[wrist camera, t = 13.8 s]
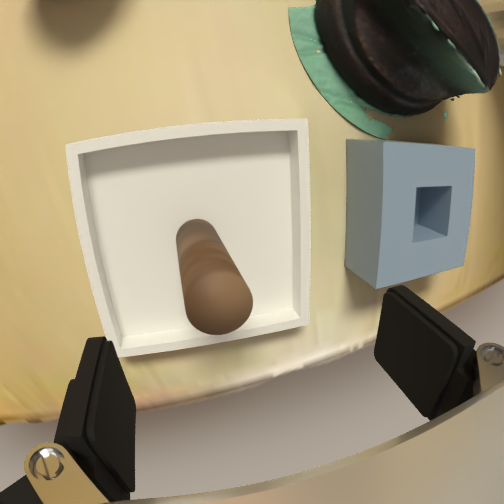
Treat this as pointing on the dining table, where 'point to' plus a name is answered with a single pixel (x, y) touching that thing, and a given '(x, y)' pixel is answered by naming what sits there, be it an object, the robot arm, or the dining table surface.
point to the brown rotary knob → (395, 54)
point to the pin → (210, 280)
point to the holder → (406, 209)
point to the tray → (187, 208)
